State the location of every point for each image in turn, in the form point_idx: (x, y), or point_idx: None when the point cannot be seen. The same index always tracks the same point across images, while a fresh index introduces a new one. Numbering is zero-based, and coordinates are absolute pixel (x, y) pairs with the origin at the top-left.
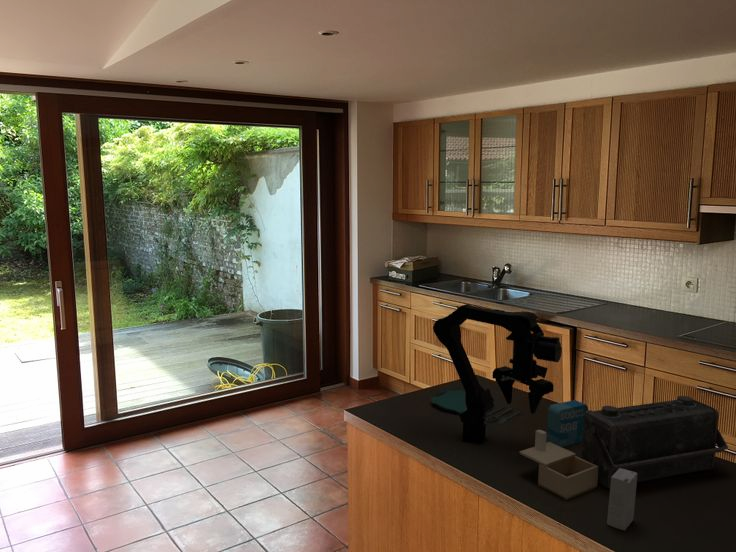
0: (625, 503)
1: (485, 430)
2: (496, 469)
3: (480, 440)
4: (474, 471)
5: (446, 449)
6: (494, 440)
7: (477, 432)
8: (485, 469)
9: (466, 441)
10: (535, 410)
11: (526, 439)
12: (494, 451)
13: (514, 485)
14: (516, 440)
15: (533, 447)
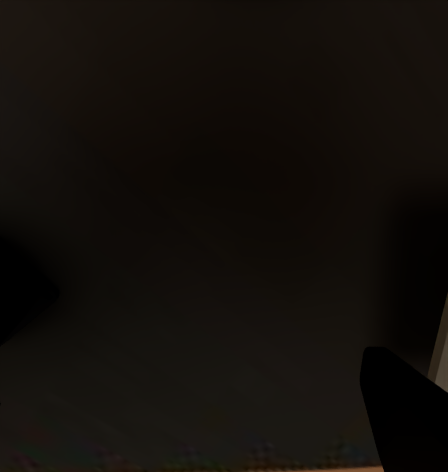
0: None
1: (8, 299)
2: (285, 389)
3: (34, 291)
4: (251, 449)
5: (51, 424)
6: (41, 213)
7: (5, 330)
8: (261, 416)
9: (12, 334)
10: (412, 374)
11: (100, 34)
12: (151, 296)
13: None
14: (88, 105)
15: (443, 369)
